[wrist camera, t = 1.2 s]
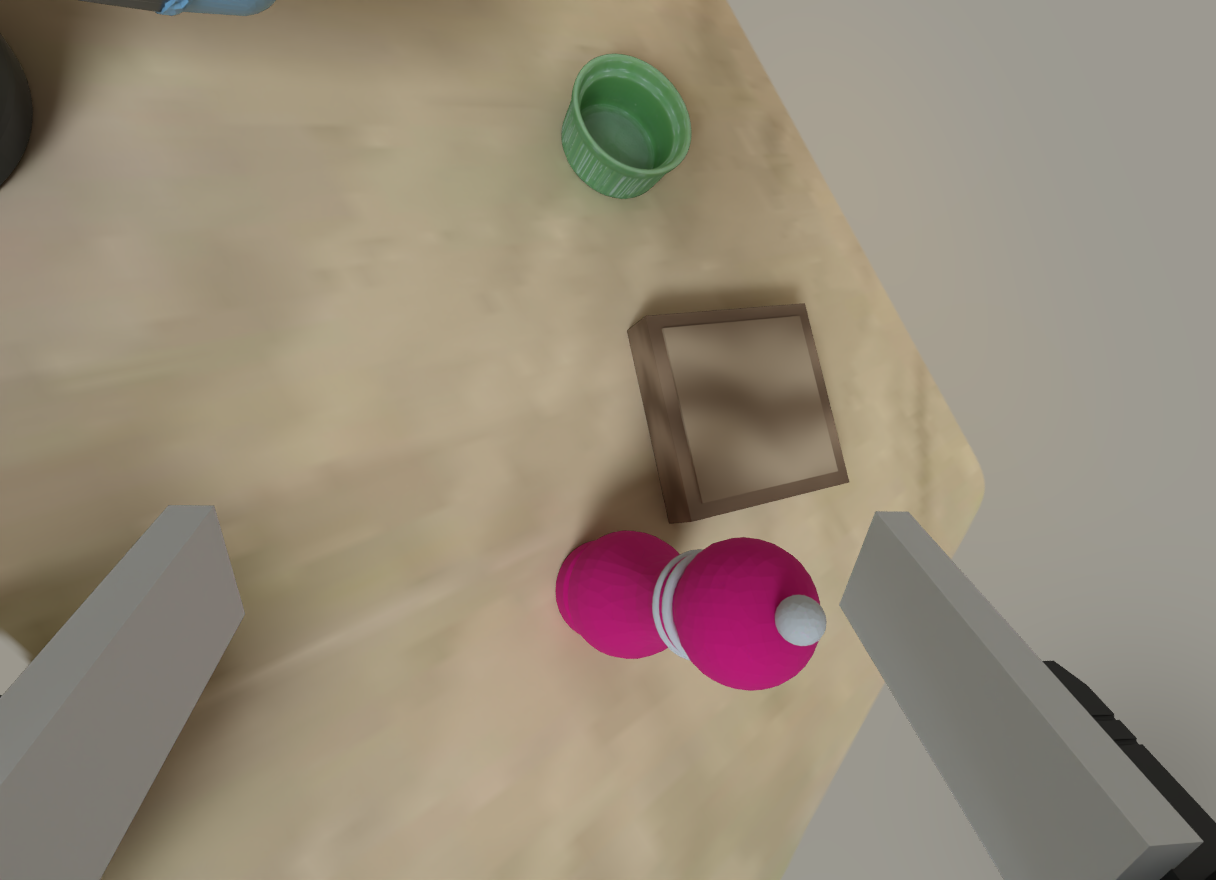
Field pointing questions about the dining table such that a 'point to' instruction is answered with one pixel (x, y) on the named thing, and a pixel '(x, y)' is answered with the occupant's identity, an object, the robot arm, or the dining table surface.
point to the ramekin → (624, 126)
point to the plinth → (735, 408)
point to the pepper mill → (695, 605)
